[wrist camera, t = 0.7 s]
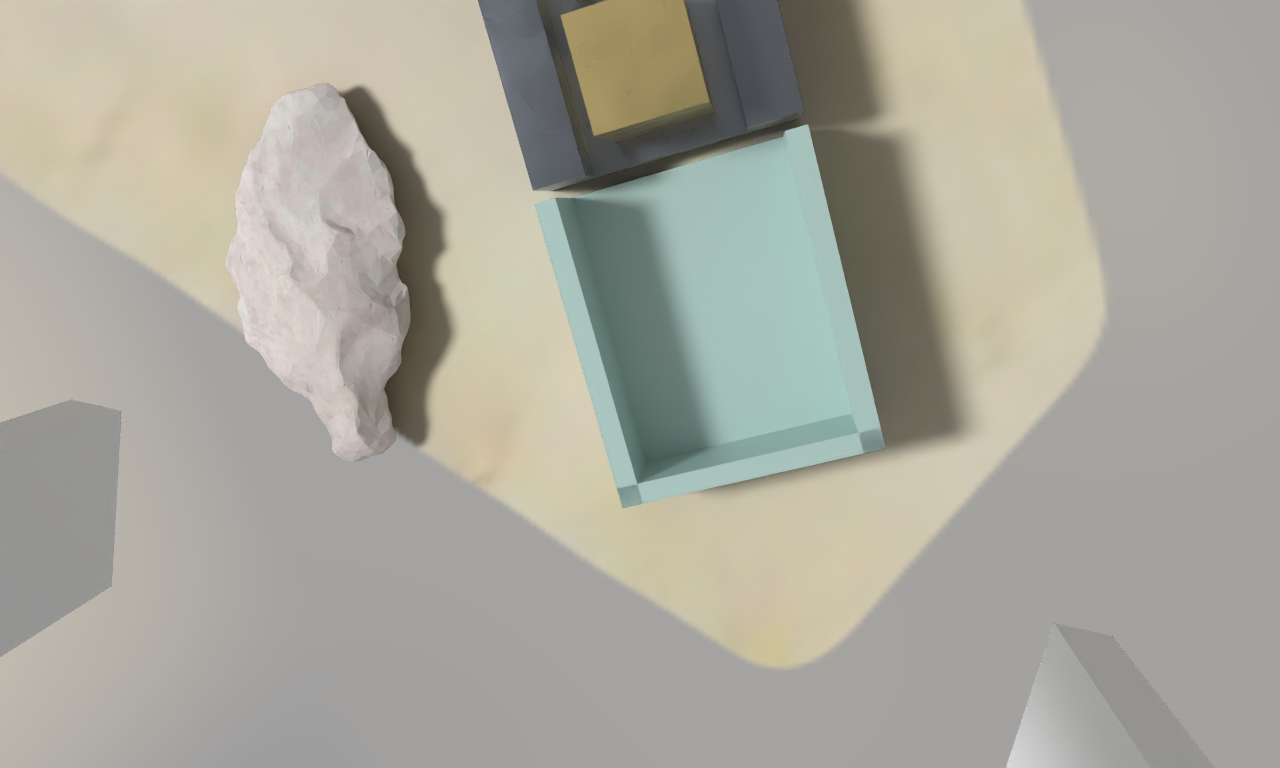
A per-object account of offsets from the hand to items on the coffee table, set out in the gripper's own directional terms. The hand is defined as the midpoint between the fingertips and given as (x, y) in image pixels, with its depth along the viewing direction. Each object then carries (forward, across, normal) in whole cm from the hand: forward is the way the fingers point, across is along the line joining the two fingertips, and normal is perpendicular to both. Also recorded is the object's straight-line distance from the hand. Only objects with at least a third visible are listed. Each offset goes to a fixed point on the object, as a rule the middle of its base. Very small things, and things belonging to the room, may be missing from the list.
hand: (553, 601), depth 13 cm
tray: (+25, +1, +1) cm, 25 cm away
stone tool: (+26, -15, -1) cm, 30 cm away
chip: (+24, -3, +9) cm, 26 cm away
